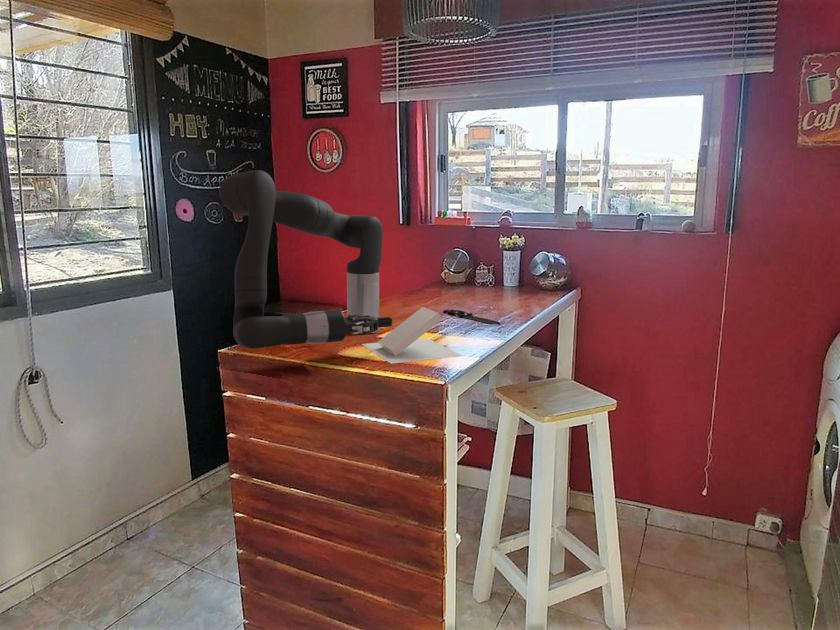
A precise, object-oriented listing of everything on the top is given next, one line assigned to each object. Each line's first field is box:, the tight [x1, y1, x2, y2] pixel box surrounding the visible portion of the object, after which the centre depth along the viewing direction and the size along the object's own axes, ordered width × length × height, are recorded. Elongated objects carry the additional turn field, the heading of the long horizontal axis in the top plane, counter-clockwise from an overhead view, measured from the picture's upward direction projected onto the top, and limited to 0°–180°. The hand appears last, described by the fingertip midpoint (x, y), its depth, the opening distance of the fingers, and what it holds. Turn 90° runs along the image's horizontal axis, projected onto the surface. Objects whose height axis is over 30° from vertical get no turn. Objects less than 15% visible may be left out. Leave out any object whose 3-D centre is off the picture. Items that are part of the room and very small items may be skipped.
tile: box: [377, 306, 443, 356], centre depth 152 cm, size 9×2×15 cm
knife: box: [442, 308, 501, 325], centre depth 198 cm, size 25×6×1 cm, turn 34°
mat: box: [361, 337, 463, 365], centre depth 153 cm, size 20×19×1 cm
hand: (390, 321), depth 149 cm, fingers closed
